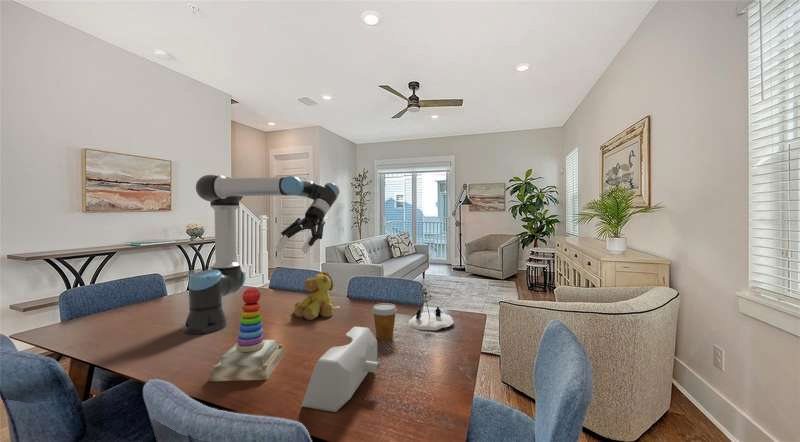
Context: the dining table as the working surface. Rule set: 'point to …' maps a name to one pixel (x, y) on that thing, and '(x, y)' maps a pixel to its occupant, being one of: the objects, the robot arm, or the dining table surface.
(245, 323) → the stacking toy
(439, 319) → the figurine
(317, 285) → the giraffe plush
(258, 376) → the plinth
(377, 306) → the disposable coffee cup
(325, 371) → the tank
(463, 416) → the dining table surface
